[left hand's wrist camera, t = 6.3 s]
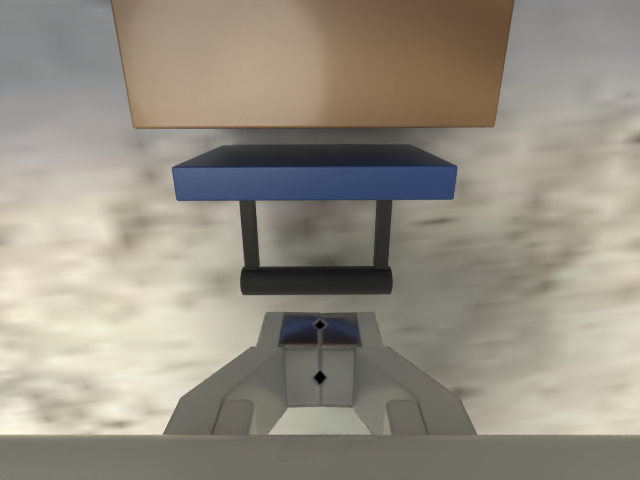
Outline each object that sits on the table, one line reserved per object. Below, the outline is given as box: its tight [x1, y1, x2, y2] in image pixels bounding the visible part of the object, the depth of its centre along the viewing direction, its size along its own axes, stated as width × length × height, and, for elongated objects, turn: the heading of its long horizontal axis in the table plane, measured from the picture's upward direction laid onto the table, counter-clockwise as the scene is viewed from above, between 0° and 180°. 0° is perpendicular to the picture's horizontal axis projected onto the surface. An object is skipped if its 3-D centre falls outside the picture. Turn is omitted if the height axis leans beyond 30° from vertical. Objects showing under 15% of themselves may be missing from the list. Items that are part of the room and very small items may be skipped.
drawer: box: [172, 145, 457, 295], centre depth 14 cm, size 21×10×7 cm, turn 0°
